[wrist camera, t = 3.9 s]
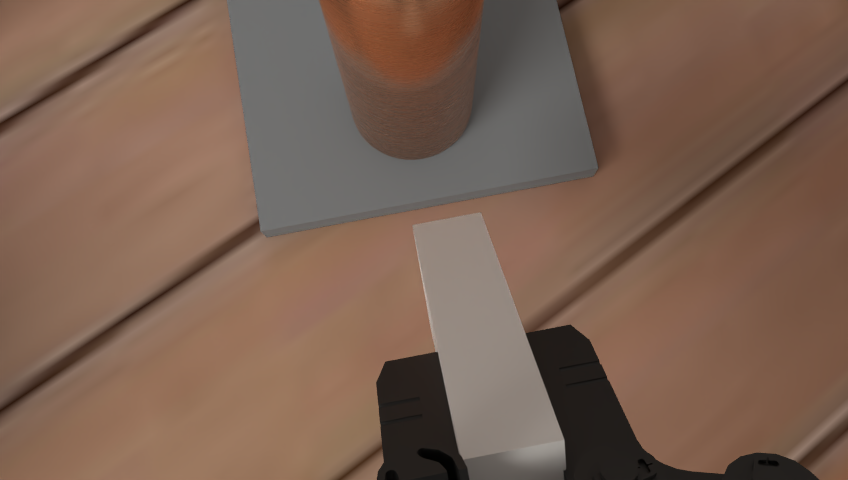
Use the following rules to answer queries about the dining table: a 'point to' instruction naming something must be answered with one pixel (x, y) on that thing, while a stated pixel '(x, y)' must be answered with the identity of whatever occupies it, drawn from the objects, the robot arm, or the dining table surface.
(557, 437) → the robot arm
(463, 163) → the slate base board
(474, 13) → the slip tube
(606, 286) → the dining table surface
